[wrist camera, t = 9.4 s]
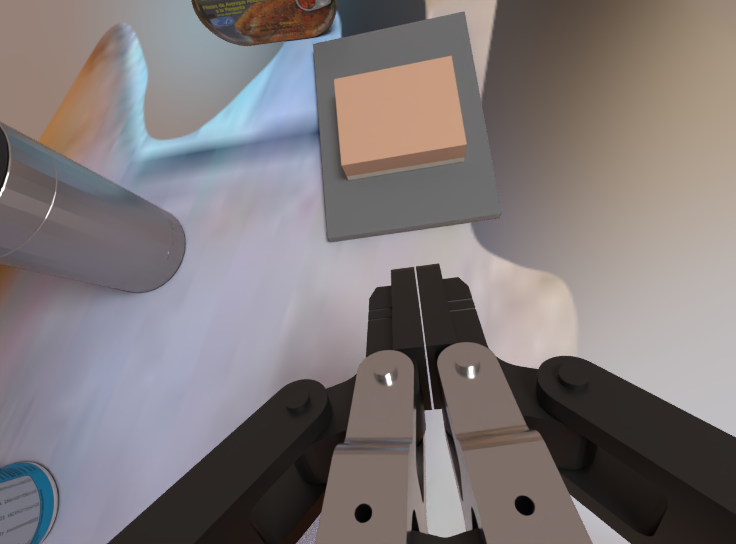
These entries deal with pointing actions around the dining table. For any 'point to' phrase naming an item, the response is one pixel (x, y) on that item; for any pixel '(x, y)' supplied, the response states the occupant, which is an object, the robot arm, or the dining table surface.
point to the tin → (265, 19)
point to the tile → (399, 119)
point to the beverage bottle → (26, 503)
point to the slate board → (413, 187)
